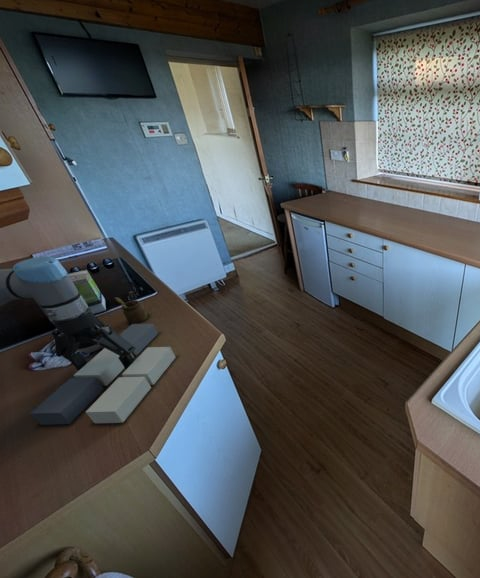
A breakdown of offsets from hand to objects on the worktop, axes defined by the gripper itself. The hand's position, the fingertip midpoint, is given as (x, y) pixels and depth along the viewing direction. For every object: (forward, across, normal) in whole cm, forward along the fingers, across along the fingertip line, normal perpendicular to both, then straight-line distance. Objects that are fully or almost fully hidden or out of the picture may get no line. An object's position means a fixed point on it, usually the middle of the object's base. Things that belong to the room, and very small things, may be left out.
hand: (109, 371), depth 88 cm
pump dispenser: (0, -13, +11) cm, 17 cm away
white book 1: (0, 0, 0) cm, 0 cm away
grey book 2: (0, 0, +12) cm, 12 cm away
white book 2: (0, +13, -12) cm, 18 cm away
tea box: (0, -34, +31) cm, 46 cm away
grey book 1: (0, 0, -12) cm, 12 cm away
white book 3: (0, +13, 0) cm, 13 cm away
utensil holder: (0, -9, +26) cm, 28 cm away
